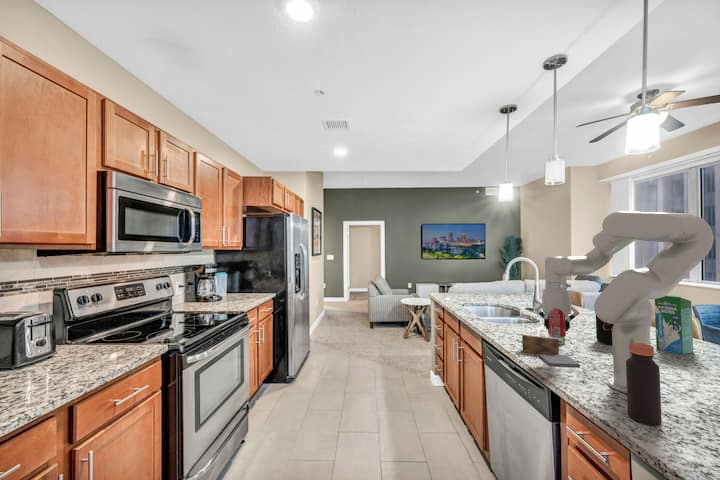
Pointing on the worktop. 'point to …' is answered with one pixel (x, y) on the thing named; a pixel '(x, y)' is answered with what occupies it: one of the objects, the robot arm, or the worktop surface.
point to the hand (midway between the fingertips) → (556, 329)
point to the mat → (558, 360)
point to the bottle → (643, 385)
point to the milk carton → (674, 324)
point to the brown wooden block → (540, 345)
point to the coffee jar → (604, 331)
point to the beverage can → (556, 323)
